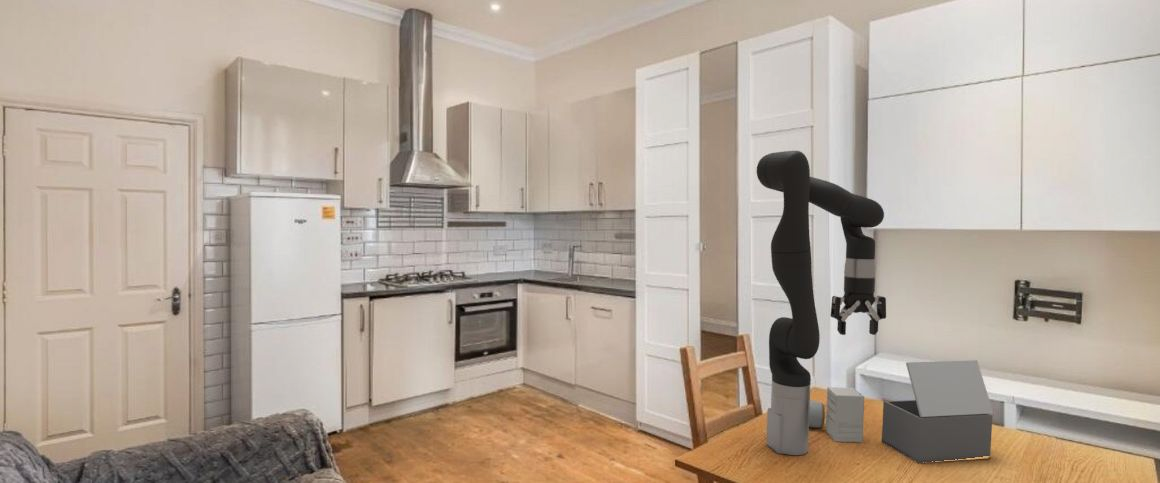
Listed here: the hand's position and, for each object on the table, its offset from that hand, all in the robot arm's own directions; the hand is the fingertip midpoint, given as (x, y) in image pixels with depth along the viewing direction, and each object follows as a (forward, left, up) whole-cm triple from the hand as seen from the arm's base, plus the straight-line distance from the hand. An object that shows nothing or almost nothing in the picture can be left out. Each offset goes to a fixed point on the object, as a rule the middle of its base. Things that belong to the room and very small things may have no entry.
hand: (857, 334), depth 155 cm
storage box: (+14, -13, -28) cm, 33 cm away
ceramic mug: (-9, +8, -28) cm, 30 cm away
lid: (+14, -16, -10) cm, 24 cm away
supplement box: (-4, -2, -28) cm, 28 cm away
